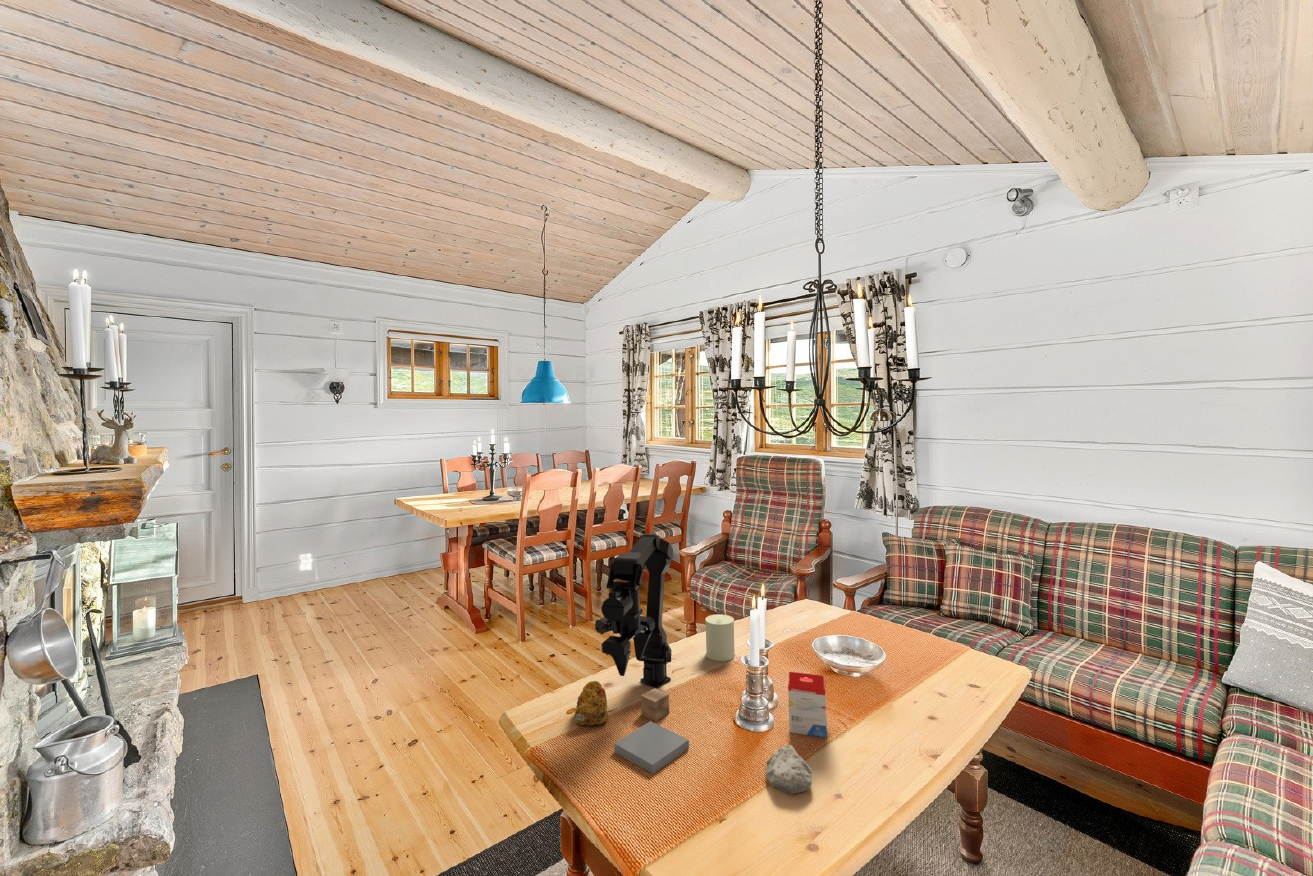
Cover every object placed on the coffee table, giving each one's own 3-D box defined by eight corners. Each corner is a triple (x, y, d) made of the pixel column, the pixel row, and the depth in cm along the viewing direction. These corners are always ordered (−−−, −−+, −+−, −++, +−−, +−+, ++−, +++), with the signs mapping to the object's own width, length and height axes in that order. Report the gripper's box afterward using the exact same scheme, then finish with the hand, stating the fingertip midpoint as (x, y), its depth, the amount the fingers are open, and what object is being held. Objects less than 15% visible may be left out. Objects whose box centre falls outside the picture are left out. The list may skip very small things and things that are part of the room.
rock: (612, 731, 140) (608, 718, 133) (580, 739, 139) (574, 727, 132) (605, 687, 148) (601, 672, 141) (574, 695, 147) (569, 680, 139)
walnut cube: (654, 707, 144) (654, 688, 143) (669, 713, 140) (668, 694, 140) (641, 714, 140) (641, 695, 140) (656, 721, 137) (655, 701, 136)
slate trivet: (650, 729, 133) (650, 721, 133) (689, 748, 125) (688, 739, 125) (614, 752, 124) (614, 743, 124) (653, 774, 116) (652, 764, 116)
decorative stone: (828, 791, 110) (828, 766, 109) (781, 804, 106) (780, 779, 106) (794, 756, 121) (794, 734, 121) (750, 767, 118) (750, 744, 118)
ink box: (827, 727, 132) (826, 667, 131) (826, 739, 127) (825, 676, 127) (790, 722, 135) (789, 663, 134) (788, 733, 130) (787, 671, 130)
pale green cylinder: (704, 660, 170) (703, 622, 170) (707, 648, 179) (706, 612, 179) (734, 662, 169) (733, 623, 168) (735, 649, 178) (734, 613, 178)
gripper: (617, 592, 150) (619, 648, 151) (581, 616, 133) (583, 679, 134) (654, 596, 145) (656, 654, 146) (621, 622, 128) (624, 687, 129)
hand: (630, 667), depth 139 cm, fingers open, 9 cm apart
